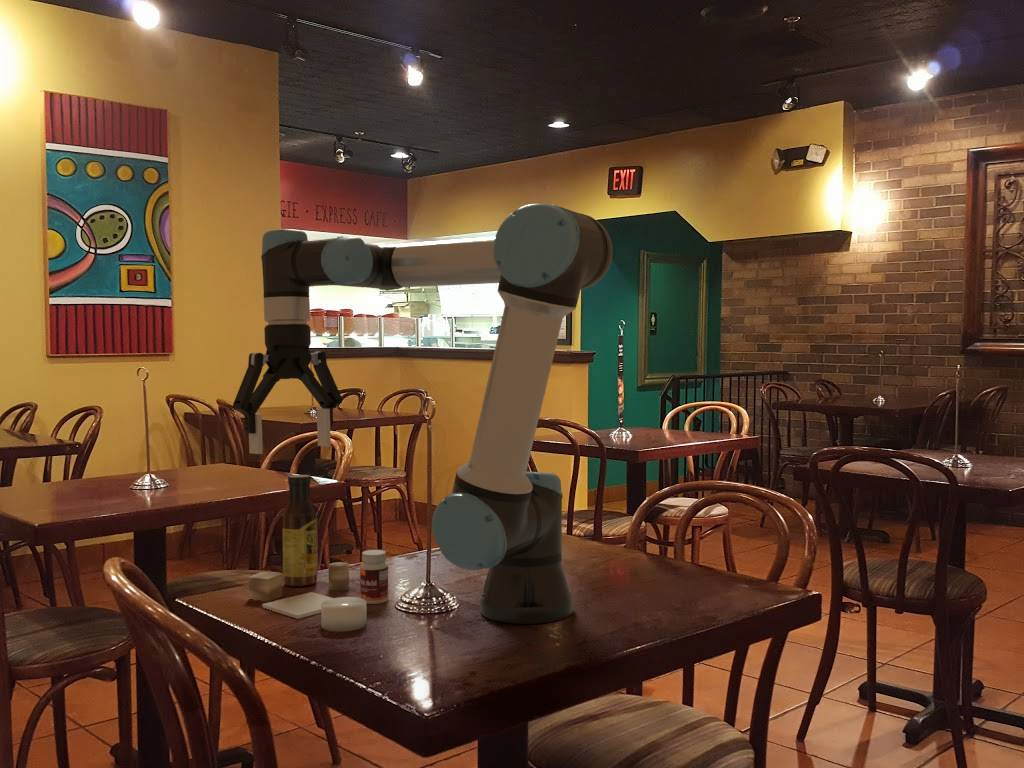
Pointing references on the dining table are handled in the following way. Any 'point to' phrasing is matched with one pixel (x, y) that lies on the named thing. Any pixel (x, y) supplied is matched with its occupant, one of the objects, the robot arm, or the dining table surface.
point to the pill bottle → (374, 577)
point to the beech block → (265, 586)
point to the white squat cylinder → (343, 614)
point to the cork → (338, 576)
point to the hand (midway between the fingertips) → (291, 449)
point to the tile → (298, 605)
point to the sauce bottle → (300, 534)
